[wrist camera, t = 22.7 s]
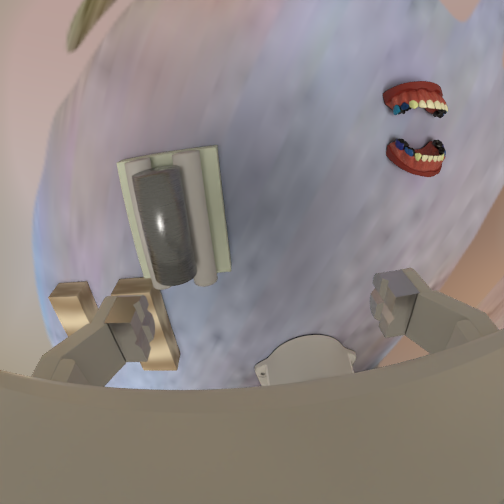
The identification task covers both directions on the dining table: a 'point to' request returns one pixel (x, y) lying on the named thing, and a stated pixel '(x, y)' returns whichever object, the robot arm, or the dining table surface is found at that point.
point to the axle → (165, 224)
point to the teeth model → (399, 151)
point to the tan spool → (84, 306)
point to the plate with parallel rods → (197, 206)
